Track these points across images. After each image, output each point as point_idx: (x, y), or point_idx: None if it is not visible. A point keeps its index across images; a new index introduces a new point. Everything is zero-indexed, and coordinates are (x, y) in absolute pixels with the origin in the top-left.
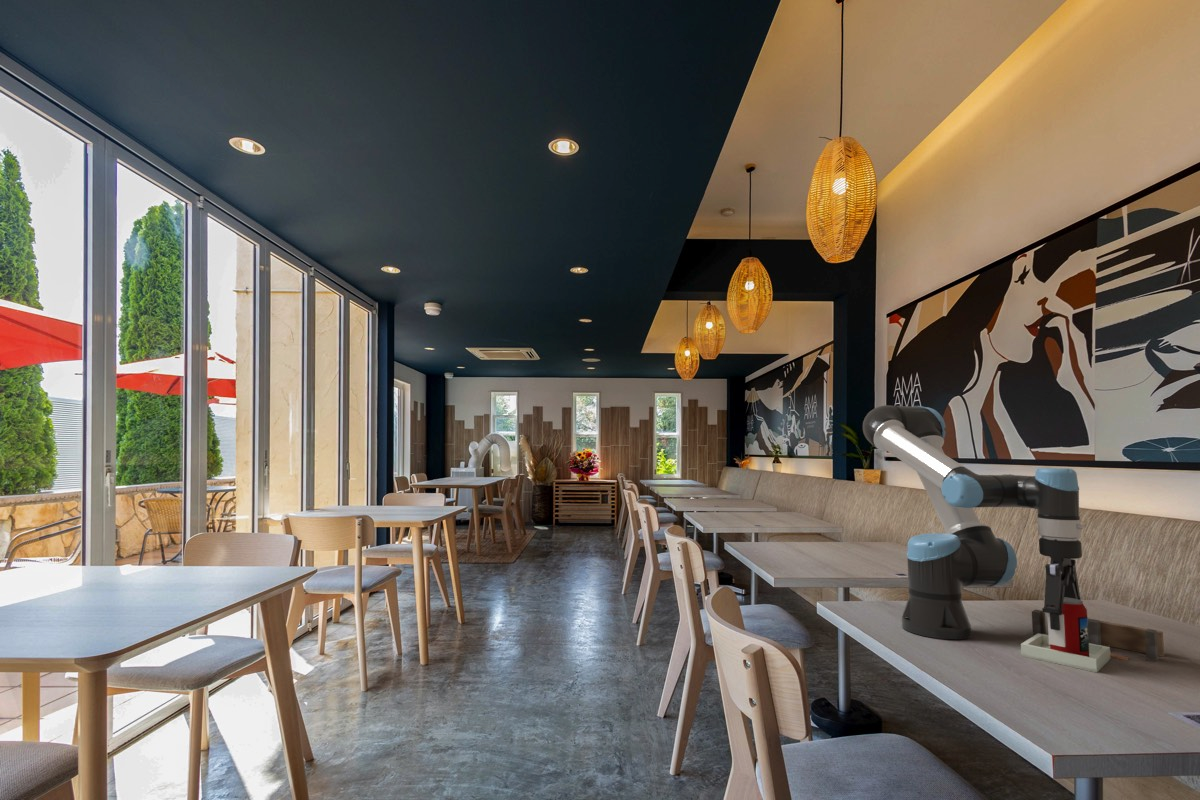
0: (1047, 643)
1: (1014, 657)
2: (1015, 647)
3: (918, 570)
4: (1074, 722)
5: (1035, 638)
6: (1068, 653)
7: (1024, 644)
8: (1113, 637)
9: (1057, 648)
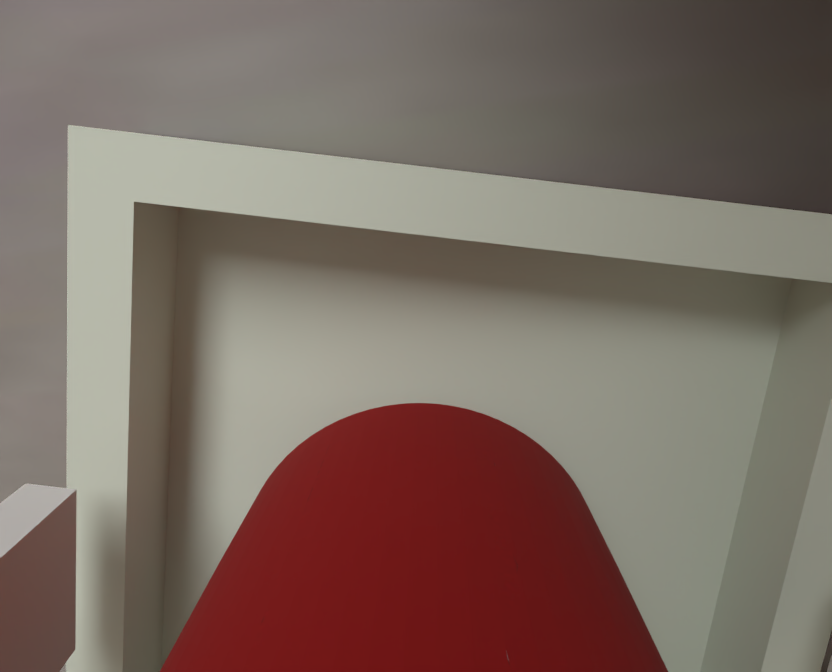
0: (793, 325)
1: (9, 80)
2: (491, 11)
3: None
4: None
5: (570, 241)
6: (85, 628)
7: (83, 170)
8: None
9: (248, 512)
